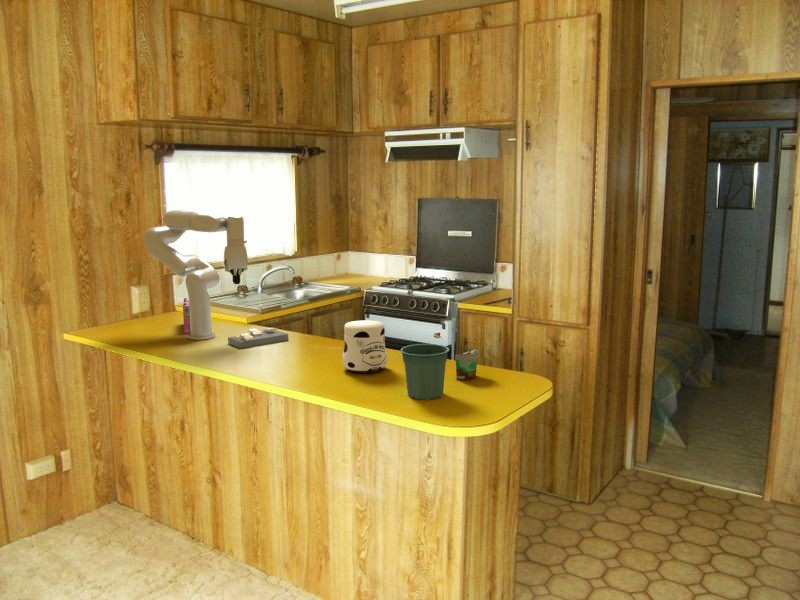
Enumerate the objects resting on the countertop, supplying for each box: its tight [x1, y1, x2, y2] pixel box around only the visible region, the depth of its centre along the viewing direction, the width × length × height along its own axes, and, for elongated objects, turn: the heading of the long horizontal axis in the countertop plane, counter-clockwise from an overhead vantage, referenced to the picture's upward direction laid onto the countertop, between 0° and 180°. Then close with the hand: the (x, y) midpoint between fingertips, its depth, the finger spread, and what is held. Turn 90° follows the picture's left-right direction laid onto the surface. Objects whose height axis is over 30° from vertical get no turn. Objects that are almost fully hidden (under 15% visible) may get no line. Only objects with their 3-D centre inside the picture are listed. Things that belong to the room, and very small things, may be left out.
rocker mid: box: [247, 327, 262, 336], centre depth 324 cm, size 6×4×2 cm, turn 40°
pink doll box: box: [182, 297, 191, 334], centre depth 353 cm, size 24×8×14 cm, turn 15°
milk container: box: [341, 320, 388, 374], centre depth 274 cm, size 17×17×18 cm
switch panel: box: [227, 329, 289, 350], centre depth 322 cm, size 12×24×3 cm, turn 130°
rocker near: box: [239, 332, 254, 341], centre depth 315 cm, size 6×4×2 cm, turn 40°
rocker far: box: [262, 327, 277, 332], centre depth 329 cm, size 6×4×2 cm, turn 40°
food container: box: [454, 347, 480, 382], centre depth 262 cm, size 12×6×10 cm, turn 148°
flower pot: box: [400, 343, 450, 401], centre depth 242 cm, size 16×16×16 cm
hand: (236, 283), depth 321 cm, fingers closed
